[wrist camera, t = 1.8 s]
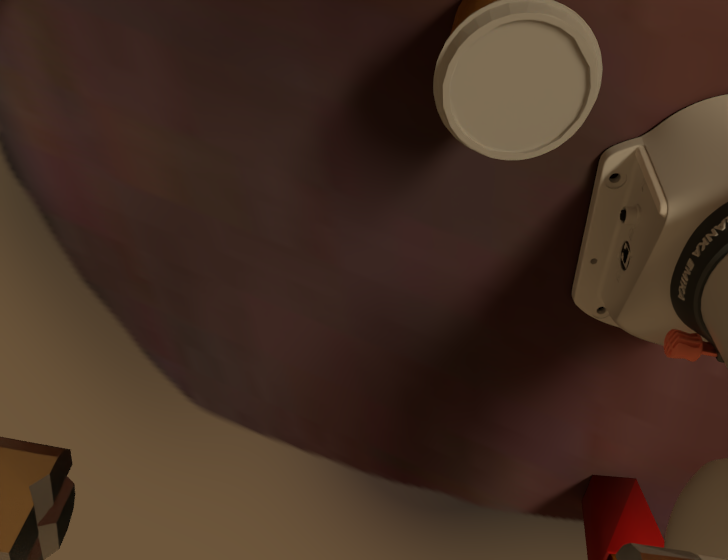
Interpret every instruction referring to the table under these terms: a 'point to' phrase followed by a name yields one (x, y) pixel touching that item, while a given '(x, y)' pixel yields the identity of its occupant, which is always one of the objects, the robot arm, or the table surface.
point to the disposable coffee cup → (516, 76)
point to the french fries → (616, 517)
